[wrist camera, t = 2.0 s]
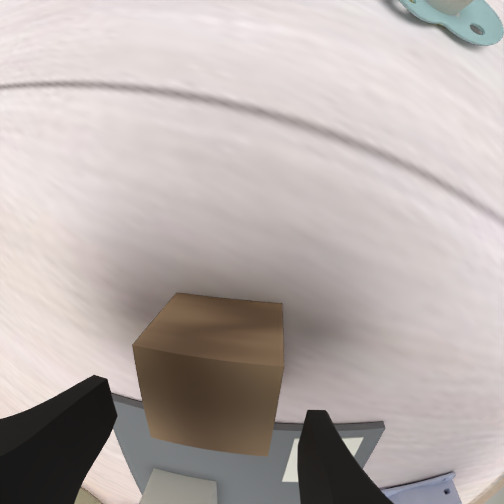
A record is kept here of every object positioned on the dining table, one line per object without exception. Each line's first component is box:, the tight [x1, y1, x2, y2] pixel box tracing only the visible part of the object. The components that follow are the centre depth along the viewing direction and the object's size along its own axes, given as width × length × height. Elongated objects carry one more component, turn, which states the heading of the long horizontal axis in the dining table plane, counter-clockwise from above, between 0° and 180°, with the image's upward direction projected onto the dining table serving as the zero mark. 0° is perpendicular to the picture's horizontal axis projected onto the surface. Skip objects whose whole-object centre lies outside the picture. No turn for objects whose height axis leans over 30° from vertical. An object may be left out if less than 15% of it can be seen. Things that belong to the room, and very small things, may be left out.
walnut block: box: [132, 293, 284, 457], centre depth 12 cm, size 5×5×5 cm
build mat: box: [111, 393, 385, 504], centre depth 17 cm, size 18×16×1 cm
